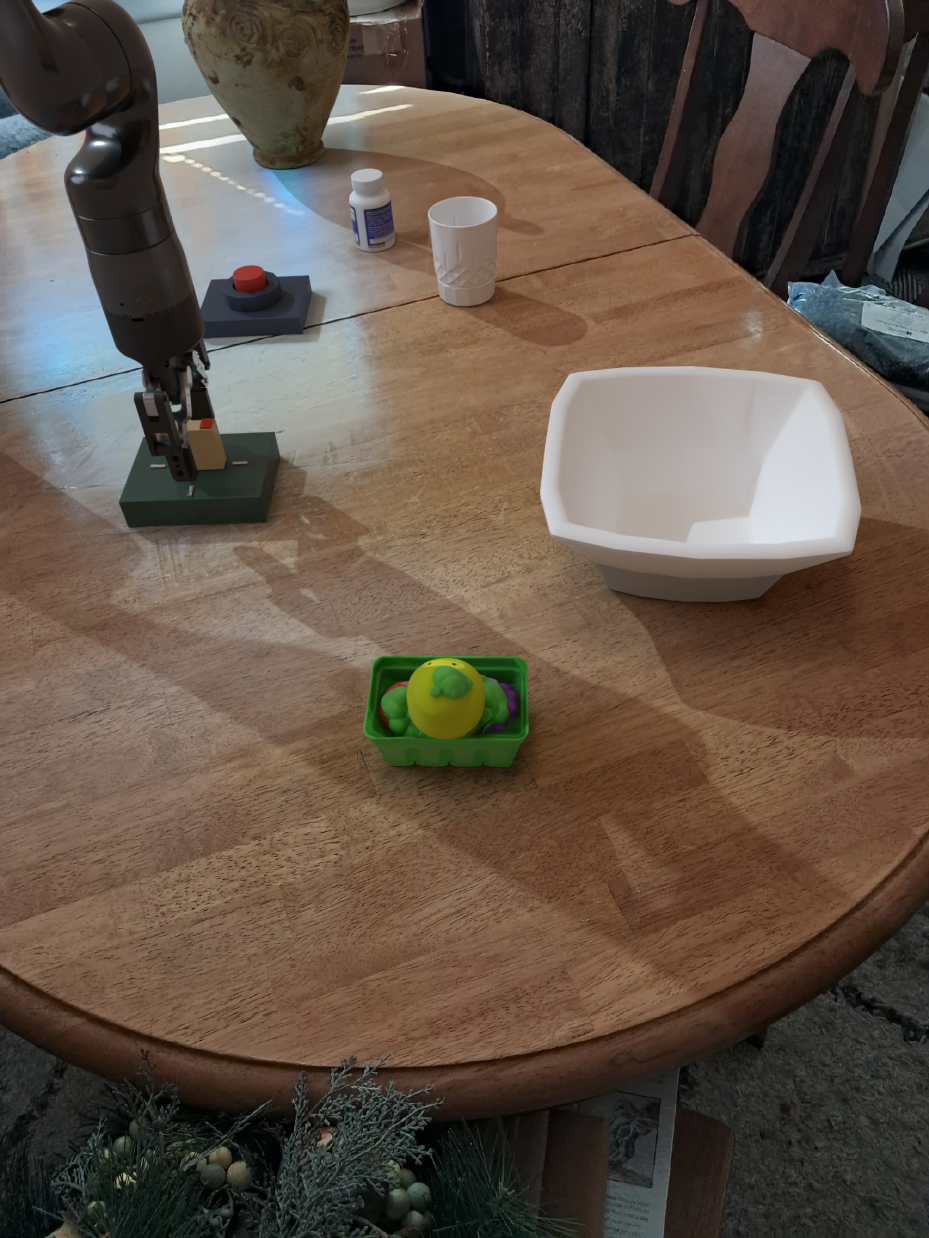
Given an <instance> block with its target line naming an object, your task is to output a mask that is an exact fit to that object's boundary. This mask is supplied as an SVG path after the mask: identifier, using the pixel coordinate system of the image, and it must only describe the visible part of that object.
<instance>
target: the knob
mask: <svg viewBox="0 0 929 1238" xmlns="http://www.w3.org/2000/svg"><path fill="white" fill-rule="evenodd" d="M175 423H176V426H177V422H176V421H175ZM177 430H178V426H177ZM187 431H188V440H189V444H190V447H191V450H192V454H193V457H194V460H195V463H196V466H197V470H213V469H224V466H225V463H226V455H225V452H224V448H223V444H222V441H221V437H220V434H221V433H220V431H219V426H218V423H217V420H216V419H215V420H213V418H205V419H202V420H192V421H191V420H189V421H188V422H187ZM165 434H166V433H165ZM166 435H167V434H166Z"/></svg>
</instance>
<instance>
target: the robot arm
mask: <svg viewBox="0 0 929 1238" xmlns="http://www.w3.org/2000/svg"><path fill="white" fill-rule="evenodd" d="M0 91H1V92H2V94H3V95H4V97H5V99H6V100H7V101H8V103H9V104H10V105H11V106H12V108H14V110H16V112H17V113H18V114H19V115H20V116H21V117H23V119H24V120H26V121H27V122H28V123H30V124H31V125H33V126H34V127H36V128H37V129H38V130H41V131H42V132H45V133H47V134H49V135H52V136H55V137H63V138H67V137H72V136H75V135H78V134H81V133H83V132H85V135H84V140H83V142H82V146H81V147H80V149H79V150H78V151H77V153H76V154H75V155H74V156H73V157H72V158H71V159H70V161H69V162H68V164H67V166H66V168H65V170H64V173H63V184H64V189H65V193H66V196H67V199H68V200H67V201H68V203H69V205H70V209H71V211H72V214H73V218H74V221H75V223H76V226H77V229H78V231H79V234H80V237H81V241H82V244H83V246H84V250H85V255H86V259H87V265H88V269H89V273H90V277H91V279H92V282H93V285H94V288H95V291H96V294H97V297H98V299H99V303H100V305H101V309H102V311H103V315H104V317H105V320H106V323H107V325H108V328H109V329H108V330H109V332H110V335H111V337H112V340H113V344H114V345H115V348H116V349H117V351H118V352H119V353H120V354H121V355H123V356H124V357H126V358H129V359H130V360H133V361H135V362H137V363H138V364H140V365H141V366H142V369H141V383H142V387H143V388H144V389H145V391H136V392H134V394H133V403H134V407H135V409H136V412H137V415H138V416H137V417H138V418H139V421H140V425H141V429H142V431H143V434H144V437H145V438H146V441H147V444H148V447H149V450H150V453H151V456H153V457H154V456H165V457H166V460H167V463H168V466H169V469H170V472H171V475H172V478H173V479H174V480H175V481H177V482H188V481H195V480H196V479H197V476H198V470H197V466H196V463H195V460H194V457H193V454H192V450H191V447H190V444H189V440H188V431H187V422H188V421H192V420H202V419H205V418H213V420H216V415H215V411H214V408H213V405H212V401H211V397H210V394H209V390H208V387H209V382H210V380H209V377H208V374H207V373H206V371H210V370H211V364H212V363H211V361H210V358H209V355H208V352H207V348H206V345H205V341H204V338H203V335H204V331H205V326H204V322H203V318H202V314H201V311H200V308H201V307H200V304H199V300H198V296H197V292H196V289H195V285H194V282H193V278H192V274H191V270H190V266H189V262H188V258H187V256H186V252H185V249H184V247H183V244H182V242H181V239H180V238H179V235H178V233H177V230H176V227H175V223H174V219H173V217H172V213H171V209H170V205H169V201H168V198H167V194H166V191H165V187H164V184H163V181H162V177H161V172H160V157H161V156H160V154H161V152H160V151H161V141H160V139H161V138H160V120H159V118H160V116H159V115H160V114H159V92H158V80H157V72H156V67H155V62H154V59H153V56H152V53H151V50H150V47H149V44H148V42H147V40H146V37H145V35H144V33H143V32H142V30H141V29H140V27H139V25H138V23H137V22H136V21H135V19H134V18H133V17H132V15H130V13H129V12H128V11H127V10H126V9H125V8H124V7H123V6H121V4H119V3H118V2H116V1H115V0H69V1H66V2H64V3H62V4H60V5H58V6H55V7H53V8H51V9H48V10H45V11H44V12H41V10H39V9H38V7H37V6H36V5H35V3H34V1H33V0H0ZM172 406H180V408H179V410H177V411H173V410H172ZM175 421H176V422H177V426H178V430H177V426H176V423H175ZM165 433H166V434H167V435H166V434H165Z"/></svg>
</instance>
